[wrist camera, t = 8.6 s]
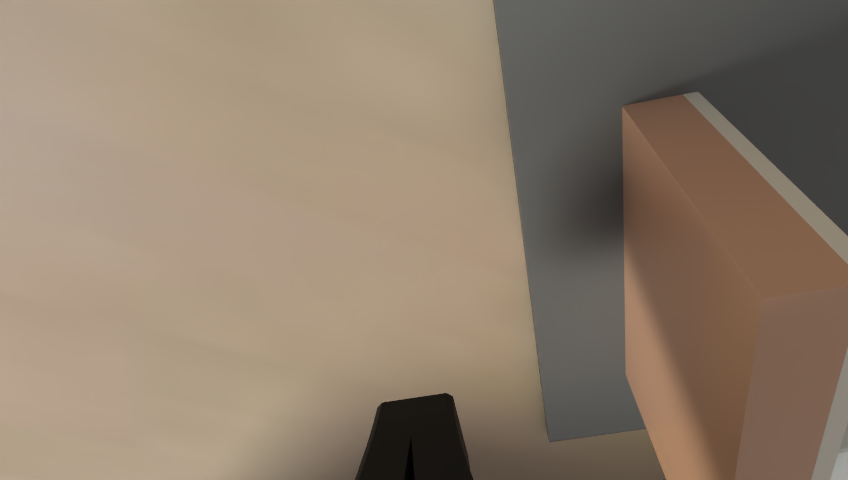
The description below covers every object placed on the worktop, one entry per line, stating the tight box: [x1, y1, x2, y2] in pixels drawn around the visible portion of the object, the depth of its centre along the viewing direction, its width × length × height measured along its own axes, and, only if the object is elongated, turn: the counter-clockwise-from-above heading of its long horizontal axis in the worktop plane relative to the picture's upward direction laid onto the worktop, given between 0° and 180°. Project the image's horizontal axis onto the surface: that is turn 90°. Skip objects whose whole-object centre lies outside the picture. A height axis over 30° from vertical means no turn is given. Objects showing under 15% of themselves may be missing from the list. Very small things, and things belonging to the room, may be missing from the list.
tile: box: [622, 92, 848, 480], centre depth 12 cm, size 2×8×6 cm, turn 11°
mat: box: [493, 0, 848, 442], centre depth 14 cm, size 10×14×1 cm
